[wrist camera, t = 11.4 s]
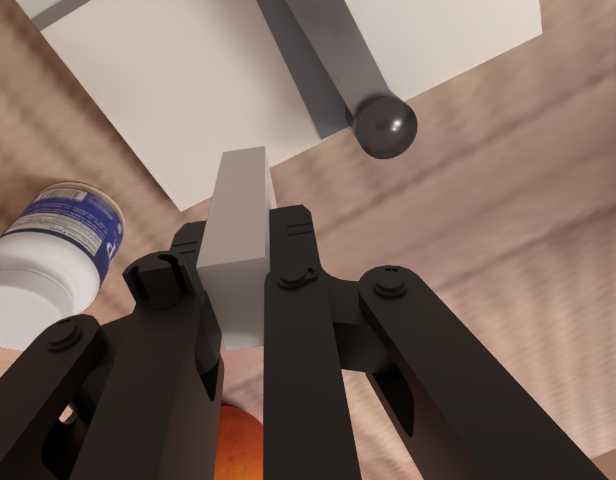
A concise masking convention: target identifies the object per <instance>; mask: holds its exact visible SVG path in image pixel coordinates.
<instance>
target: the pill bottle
mask: <svg viewBox="0 0 616 480" xmlns="http://www.w3.org/2000/svg"><path fill="white" fill-rule="evenodd" d="M124 234H125V220H124V216H123V214H122V211H121V210H120V208H119V206H118V205H117V204H116V203H115V201H114V200H113V199H112V198H110V197H109V196H108V195H107V194H105V193H104V192H102V191H101V190H99V189H97V188H95V187H92V186H90V185H86V184H82V183H75V182H64V183H58V184H54V185H52V186H49V187H47V188H46V189H44V190H43V191H41V192H40V193H39V194H38V195H37V196H36V197H35V199H34V200H33V201H32V202H31V203H30V204H29V205H28V206H27V208H26V209H25V210H24V211H23V212H22V213H21V214H20V215H19V216H18V217H17V218H16V220H15V221H14V222H13V223H12V224H11V225H10V226H9V227H8V228H7V229H6V230H5V231H4V232H3V233H2V234H1V235H0V347H2V348H6V349H12V350H22V351H25V350H26V348H27V347H28V346H29V345H30V344H31V343H32V342H33V341H34V340H35V338H36V337H37V336H38V335H39V334H41V333H42V332H43V331H44V330H45V329H46V328H47V327H49V326H50V325H52V324H54V323H56V322H57V321H59V320H61V319H64V318H67V317H69V316H72V315H77V314H79V313H81V312H82V311H84V310H85V309H86V308H87V307H88V306H90V304H91V303H92V302H93V301H94V299H95V297H96V295H97V293H98V291H99V289H100V287H101V285H102V283H103V280H104V278H105V276H106V274H107V272H108V270H109V267H110V265H111V263H112V261H113V259H114V256H115V254H116V252H117V250H118V248H119V246H120V244H121V242H122V239H123V237H124Z"/></svg>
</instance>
